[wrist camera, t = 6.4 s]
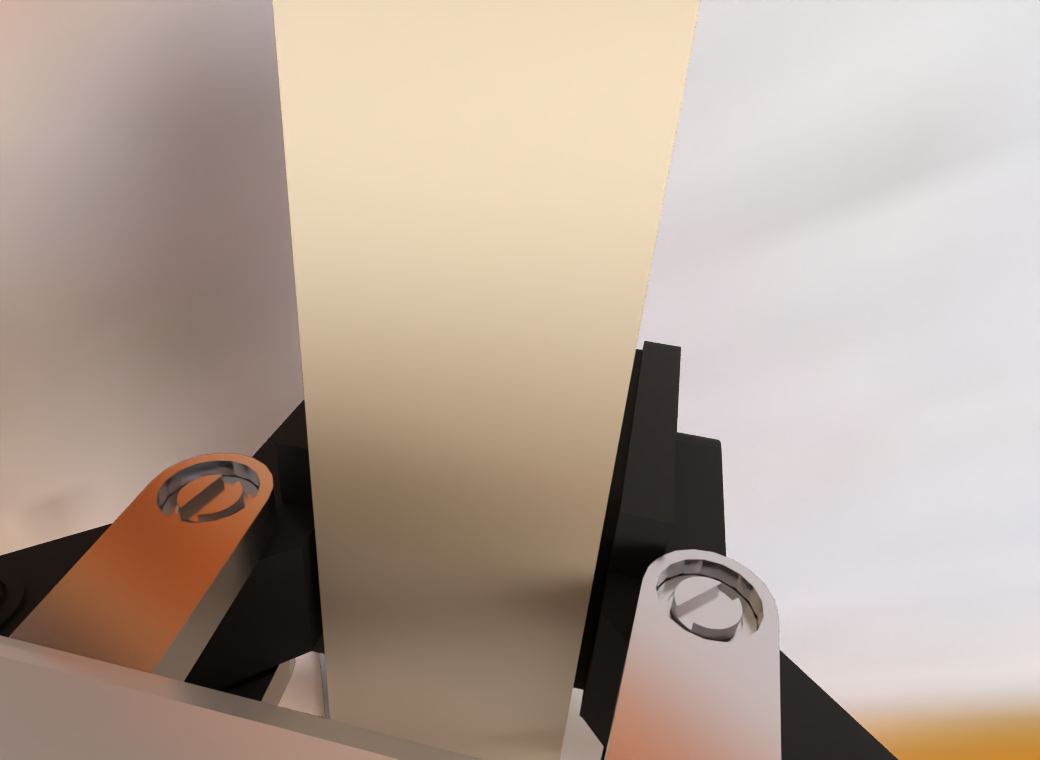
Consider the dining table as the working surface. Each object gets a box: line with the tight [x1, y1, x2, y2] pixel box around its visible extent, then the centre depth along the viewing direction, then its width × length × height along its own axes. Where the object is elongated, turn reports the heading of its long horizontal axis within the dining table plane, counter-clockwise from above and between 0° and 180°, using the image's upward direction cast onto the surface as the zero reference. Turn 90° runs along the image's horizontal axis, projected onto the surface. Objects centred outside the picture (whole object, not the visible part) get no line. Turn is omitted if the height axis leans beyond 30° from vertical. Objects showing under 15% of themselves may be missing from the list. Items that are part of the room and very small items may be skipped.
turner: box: [273, 0, 701, 760], centre depth 10 cm, size 17×7×5 cm, turn 175°
